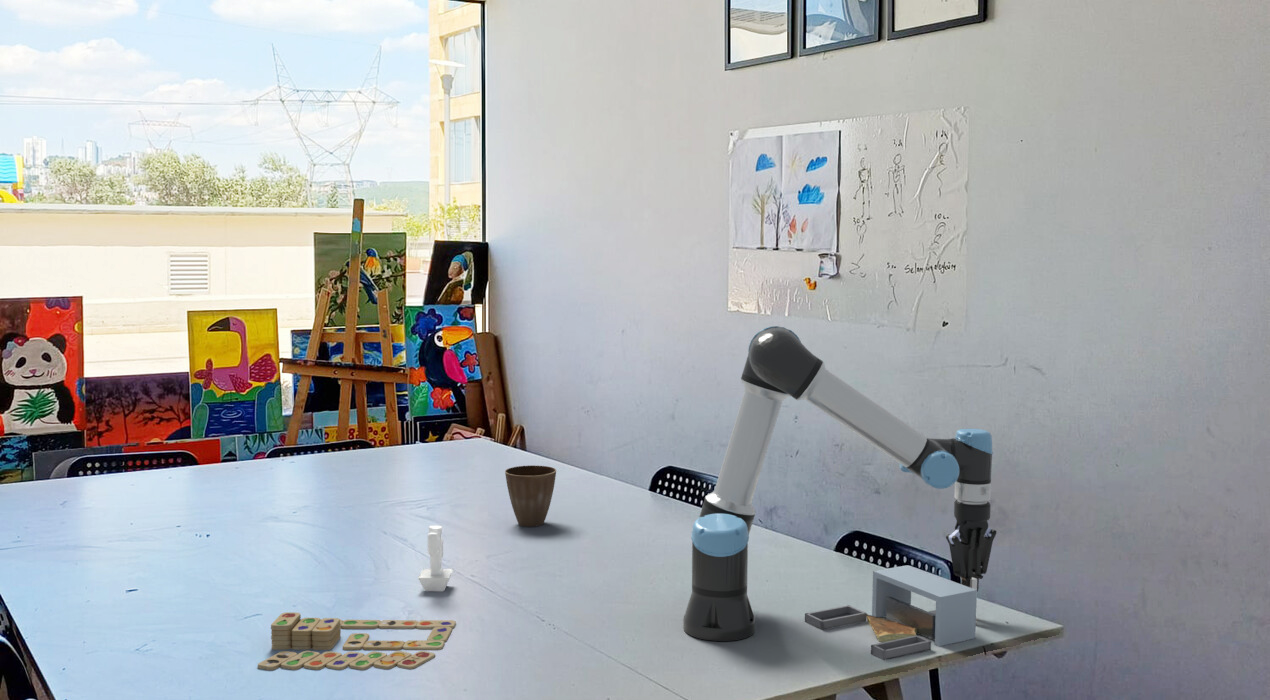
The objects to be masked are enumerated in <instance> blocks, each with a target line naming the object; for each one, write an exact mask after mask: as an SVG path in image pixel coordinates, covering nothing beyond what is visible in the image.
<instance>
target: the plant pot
mask: <svg viewBox="0 0 1270 700" xmlns="http://www.w3.org/2000/svg"><path fill="white" fill-rule="evenodd" d="M504 474H505V481H506V487H507V492H508V495H509V496H508V497H509V500H510V503H511V507H512V511H513V513H514V516H515V518H516V521H517V524H518V525H519V526H520V527H524V528H525V527H527V528H534V527H535V528H536V527H540V526H543V525H544V524H545V521H546V518H547V516H548V512H549V509H550V506H551V502H552V499H553V492H554V488H555V483H556V475H557V469H556V468H555V467H551V466H547V465H535V464H534V465H519V466H512V467H508V468H506V469H505V471H504Z"/></svg>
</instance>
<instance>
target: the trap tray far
mask: <svg viewBox="0 0 1270 700" xmlns="http://www.w3.org/2000/svg"><path fill="white" fill-rule="evenodd" d="M867 614H868V613H867V612H865V611H864V610H860V609H858V608H856V607H853V606H851V605H849V604H847V605H841V606H837V607H832V608H827V609H822V610H817V611H810V612H806V613H804V622H805V623H807V624H809V625H811V626H813V627H816V628H817V629H818V630H821V631H824V630H829V629H833V628H839V627H845V626H848V625H849V626H850V625H854V624H858V623H859V624H860V623H864V622H867Z"/></svg>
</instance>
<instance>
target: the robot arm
mask: <svg viewBox="0 0 1270 700" xmlns="http://www.w3.org/2000/svg"><path fill="white" fill-rule="evenodd" d="M747 349H748V354H747V358H746V361H745V364H744V367H743V369H742V374H741V377H740V382H741V384H742V385H743V388H744V391H743V395H742V398H741V401H740V404H739V407H738V410H737V411H738V412H737V415H736V418H735V421H734V425H733V427H732V431H731V435H730V437H729V440H728V445H727V448H726V451H725V454H724V457H723V461H722V464H721V467H720V471H719V474H718V477H717V481H716V484H715V488H714V490H713V491H712V492H710V493H708V494H707V495H705V497H704V501H703V503H702V507H701V510H700V514H699V516H698V518H697V519H696V520H695V521H694V522H693V524H692V525H693V526H692V530H691V536H690V537H691V541H692V542H691V543H692V546H691V556H692V557H691V566H692V567H691V595H690V597H689V600H688V603H687V607H686V609H685V613H684V615H683V619H682V620H683V621H682V623H683V625H682V627H683V631H684V632H685V633H686V634H687V635H689V636H690V637H691V636H692V637H694V638H697V639H700V640H704V641H705V640H706V641H715V642H729V641H730V642H731V641H737V640H743V639H746V638H749V637H751V636H752V635H753V634H754V633H755V632H756V618H755V615H754V612H753V609H752V605H751V602H750V599H749V596H748V554H749V553H748V552H749V550H748V548H749V544H748V543H749V539H750V532H751V529H752V525H753V522H754V519H755V515H756V513H757V512H756V509H755V507H754V505H753V504H752V501H753V498H754V496H755V492H756V488H757V486H758V483H759V479H760V475H761V472H762V469H763V466H764V464H765V463H764V462H765V459H766V456H767V454H768V453H767V452H768V450H769V446H770V444H771V440H772V436H773V434H774V433H773V432H774V429H775V426H776V423H777V420H778V417H779V413H780V410H781V408H782V404H783V402H784V400H786V399H788V398H789V397H792V398H793V399H794V400H796V401H801V400H805V401H806V402H808V403H809V404H811V405H813V406H814V407H815V408H816V409H818V410H820V411H821V412H823V413H824V414H826V415H827V416H829V417H830V418H832V419H833V420H835V421H836V422H838V423H839V424H840V425H842V426H844V427H845V428H847V429H848V430H850V431H851V432H853V433H854V434H855V435H857V436H859V437H860V438H861V439H863V440H865V441H866V442H867V443H869V444H871V445H872V446H873V447H874V448H876V449H878V450H879V451H881V452H882V453H884V454H885V455H887V456H888V457H890V458H892V459H893V460H894V461H896V462H897V463H898V464H899V465H898V466H899V469H900V471H901V472H902V473H910V474H915V475H916V476H917V477H919V478H920V479H922V480H923V482H924V483H925V484H926V485H927V486H930V487H932V488H934V489H936V490H937V489H938V490H942V489H943V490H944V489H947V488H950V487H951V486H954V495H953V497H954V499H955V501H954V505H953V516H954V519H956V523H955V526H954V531H953V532H952V533H951V534H950V533H947V534H946V536H945V538H946V541H947V542H948V545H949V552H950V557H951V563H952V570H953V574H954V575H955V576H957V577H960V579H961V581H960V582H961V583H960V584H962V585H964V586H967V587H970V588H973V589H975V590H977V593H978V592H979V589H980V588H979V585H980V583H979V582H980V581H979V580H982V579H984V575H986V574H987V572H988V566H989V562H990V557H991V552H992V548H993V542H994V539H995V538H996V535H997V530H996V529H992V528H990V526H989V523H988V521H989V520H990V519H991V503H990V502H989V501H990V500H991V494H992V467H993V465H992V464H993V463H992V461H993V454H994V452H993V436H992V434H991V432H989V431H988V430H985V429H980V428H961V429H958V430H957V431H956V433H955V436H954V438H929V437H926V436H925V435H923V434H922V433H920V432H919V431H918V430H916V429H915V428H913V427H911V426H910V425H908V423H905V421H903V420H901V419H900V418H899V417H897V416H896V415H895V414H892V412H890V411H888V410H886V409H885V408H884V407H882V406H880V404H878V403H877V402H875V401H873V400H872V399H870V398H869V397H867V396H866V395H864V394H863V393H861V392H860V391H859V390H857V389H856V388H854V387H853V386H851V385H850V384H848V383H847V382H846V381H844V380H842V379H841V378H839V377H838V376H836V375H835V374H833V372H830V371H829V370H828V369H826V366H825V365H826V364H825V362H824V361H823V360H821V358H819V357H817V356H816V355H815V354H813V353H812V352H811V351H810V350H809V349H807V348H806V346H805V345H804V344H803V342H802V341H801V338H799V336H798V335H797V334H796V333H795V332H794V331H793V330H791V329H789V328H786V327H785V326H784V327H783V326H779V325H775V326H769V327H765V328H763V329H761V330H760V331H758V332H757V333H756V334H755V335H754V336H753V337H752V339H751V340H750V343H749V345H748V348H747ZM977 602H978V600H977V599H976V605H977Z"/></svg>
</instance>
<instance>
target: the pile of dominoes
mask: <svg viewBox="0 0 1270 700" xmlns="http://www.w3.org/2000/svg"><path fill="white" fill-rule="evenodd" d="M456 625H457V622H456V620H453V619H450V620H448V619H446V620H445V619H443V620H442V619H441V620H438V619H437V620H436V619H434V620H433V619H430V620H427V619H422V620H413V619H411V620H410V619H404V620H401V619H400V620H399V619H384V620H380V619H345V620H343V619H341V618H338V617H337V618H336V617H325V618H319V617H304V618H302V616H301V613H300V612H297V611H296V612H295V611H293V612H291V611H290V612H288V611H287V612H282V613H280V614H279V616H278V617H277V618H276V619H275V620H274V621H273V622H272V623H271V624H270V630H271V632H270V633H271V635H270V639H271V649H272V650H282V651H279V652H277V653H276V654H273V655H272V656H270V657H267V658H265V659H264V660H262V661H259V663H257V669H258V670H259V669H260V670H267V671H275V670H277V669H279V668H281V669H285V670H293V671H295V670H299V669H302V668H303V669H307V670H308V669H309V670H315V671H318V670H319V671H320V670H322V669H324V668H327V669H329V670H330V669H331V670H336V671H341V670H344V669H347V668H349V669H354V670H359V671H365V670H368V669H370V668H371V667H373V668H378V669H382V670H390V669H393V668H395V667H398V668H402V669H406V670H414V669H417V668H418V667H420V666H421V665H424V664H426V663H427V662H429V661H431V660H433V659H435V658H436V654H435V653H434V652H429V651H439V650H442V649H443V648H444V646H445V643H447V642H448V640H449V638H450V635H451V633H452V631H453V629H455V627H456ZM341 629H342V630H376V629H380V630H381V629H382V630H383V629H384V630H385V629H386V630H388V629H390V630H412V629H413V630H414V629H417V630H431V632H430V633H429V635H428V637H427V639H426V640H424V639H423V640H420V639H419V640H417V639H416V640H415V639H414V640H413V639H411V640H406V641H405V640H374V639H373V640H371V639H370V634H369V633H361V632H358V633H357V632H354V633H351V634H350V635H349V636H348V637H347V639H346V640H345V642H344V643H343V645H342V650H343V651H348V652H345V653H344V654H342V653H341V652H338V651H337V652H336V651H331V650H332V649H334V647H335V646H336V645H337V643H339V641H340V639H341V638H342V637H341V631H342V630H341ZM369 639H370V640H369ZM287 650H294V651H287ZM295 650H299V651H301V650H303V651H301V652H299V653H297V652H295ZM313 650H314V651H313ZM323 650H326V651H324V652H322V653H320V652H318V651H323ZM327 650H328V651H327ZM360 650H364V651H370V652H368V653H366V654H365V653H364V652H357V651H360ZM403 650H405V651H403ZM407 650H408V651H417V652H416V653H413V654H412V653H411V652H407ZM382 651H393V652H392V653H390V654H387V653H386V652H382Z"/></svg>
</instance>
